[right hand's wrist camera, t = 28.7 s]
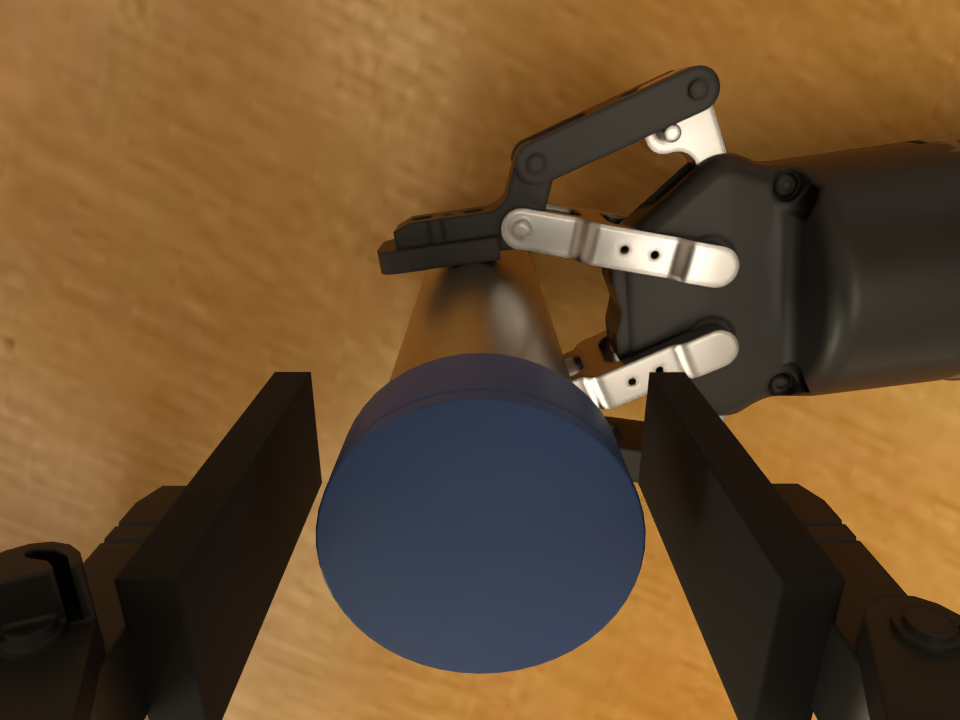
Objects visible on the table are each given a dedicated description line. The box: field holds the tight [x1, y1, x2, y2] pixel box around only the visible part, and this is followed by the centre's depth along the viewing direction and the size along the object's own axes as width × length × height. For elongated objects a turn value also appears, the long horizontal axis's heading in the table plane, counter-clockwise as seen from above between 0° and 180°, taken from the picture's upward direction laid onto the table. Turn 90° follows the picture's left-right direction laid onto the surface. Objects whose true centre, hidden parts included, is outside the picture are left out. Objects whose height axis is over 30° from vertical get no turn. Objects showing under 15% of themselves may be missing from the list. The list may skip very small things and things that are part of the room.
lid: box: [316, 353, 646, 674], centre depth 11 cm, size 5×5×2 cm
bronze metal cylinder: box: [389, 249, 572, 382], centre depth 19 cm, size 4×4×18 cm
